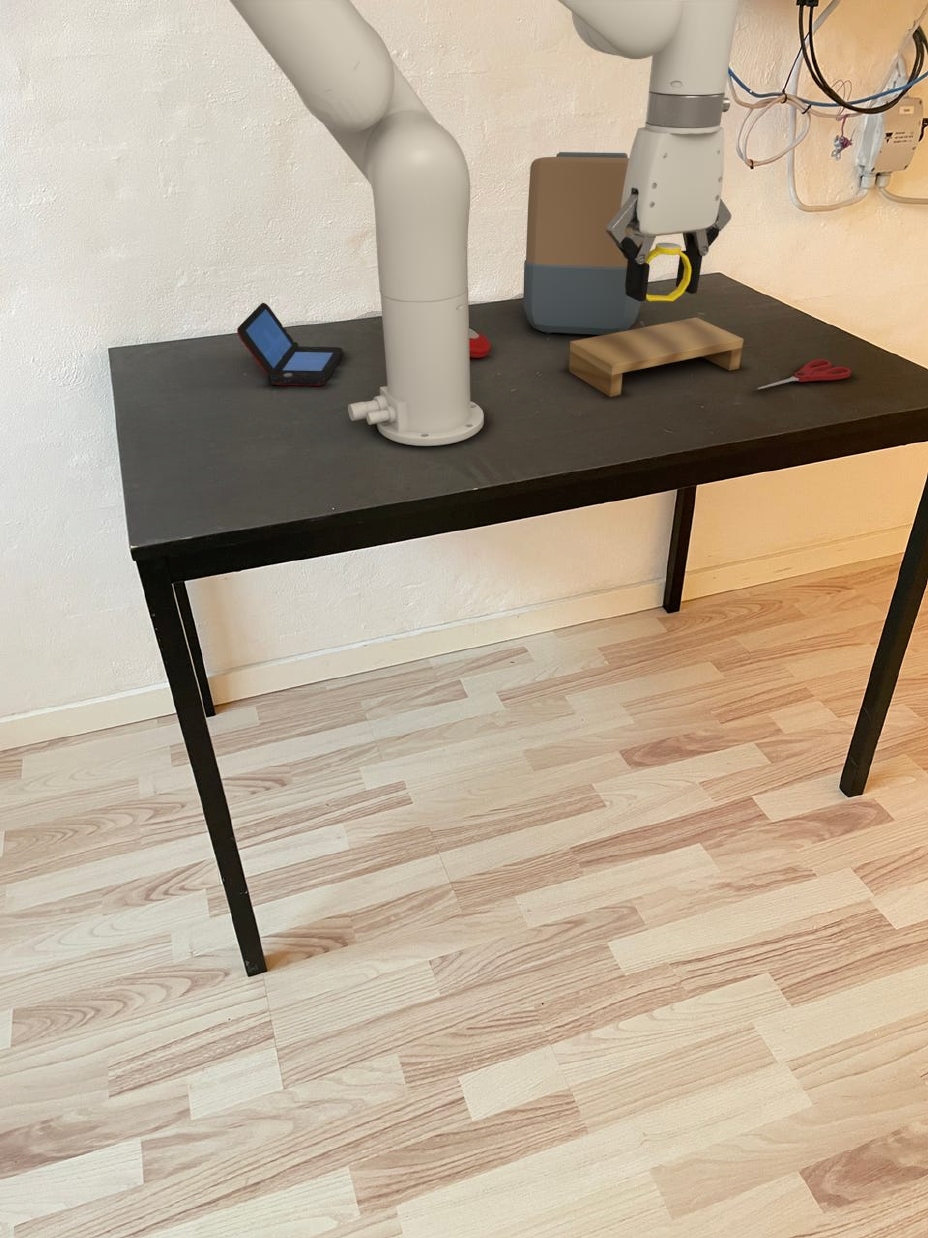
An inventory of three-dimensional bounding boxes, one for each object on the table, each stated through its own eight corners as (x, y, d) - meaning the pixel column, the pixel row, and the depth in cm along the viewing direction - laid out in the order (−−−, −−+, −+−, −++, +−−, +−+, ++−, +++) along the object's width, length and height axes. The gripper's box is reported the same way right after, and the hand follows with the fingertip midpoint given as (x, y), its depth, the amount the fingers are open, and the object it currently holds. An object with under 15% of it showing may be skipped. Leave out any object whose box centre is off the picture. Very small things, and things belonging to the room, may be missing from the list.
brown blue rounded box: (643, 308, 139) (659, 140, 125) (634, 344, 126) (651, 161, 112) (537, 303, 142) (541, 139, 128) (518, 337, 129) (520, 159, 115)
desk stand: (609, 397, 111) (612, 365, 108) (568, 371, 118) (570, 341, 116) (738, 368, 117) (743, 338, 115) (692, 345, 125) (695, 317, 122)
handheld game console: (324, 388, 115) (318, 331, 111) (243, 386, 116) (233, 329, 112) (345, 354, 125) (340, 300, 121) (271, 353, 126) (262, 299, 122)
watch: (638, 305, 100) (644, 249, 96) (630, 298, 102) (636, 243, 98) (689, 302, 101) (697, 246, 97) (680, 295, 103) (688, 240, 99)
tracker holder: (506, 345, 123) (446, 343, 117) (496, 374, 126) (437, 373, 120) (462, 303, 130) (404, 299, 124) (453, 331, 132) (396, 328, 127)
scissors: (853, 377, 114) (855, 369, 113) (772, 399, 108) (774, 392, 108) (820, 364, 117) (822, 356, 117) (741, 385, 112) (742, 377, 112)
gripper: (729, 104, 96) (702, 277, 107) (591, 112, 90) (577, 294, 101) (776, 112, 90) (743, 293, 101) (632, 122, 85) (613, 313, 95)
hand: (661, 292), depth 101 cm, fingers closed on watch, 6 cm apart
